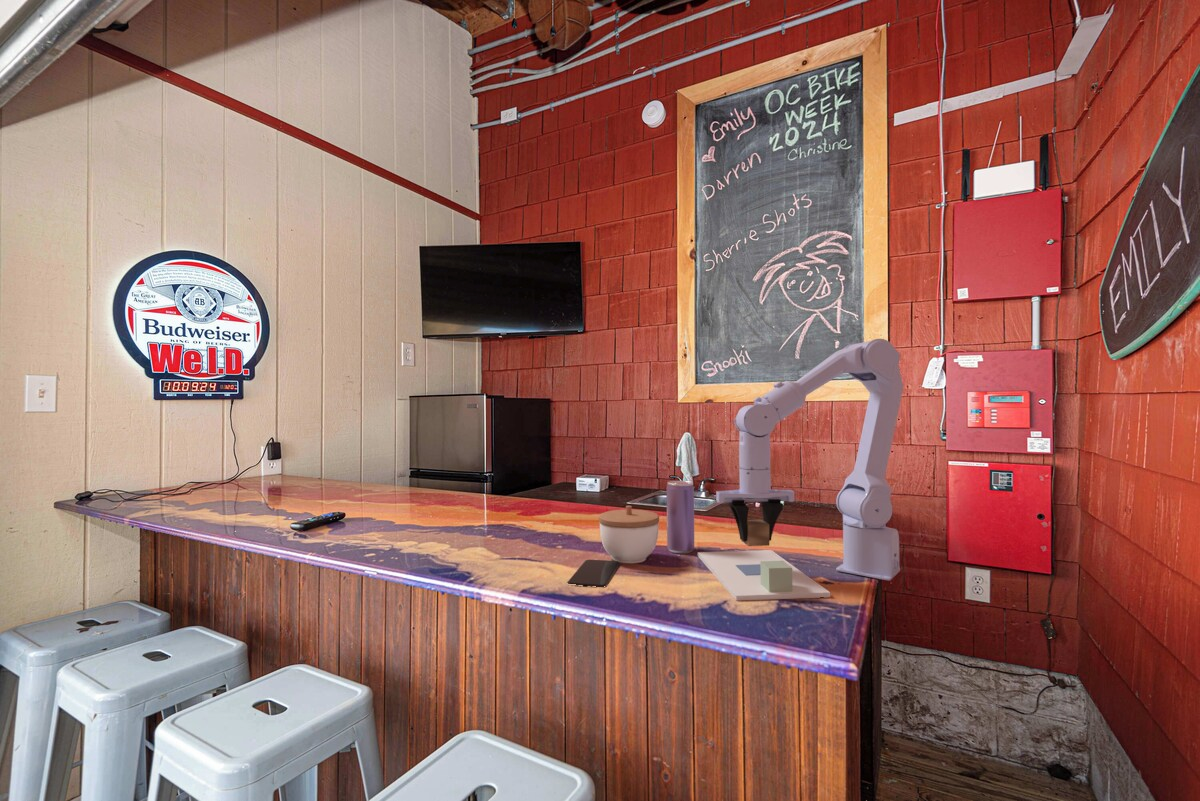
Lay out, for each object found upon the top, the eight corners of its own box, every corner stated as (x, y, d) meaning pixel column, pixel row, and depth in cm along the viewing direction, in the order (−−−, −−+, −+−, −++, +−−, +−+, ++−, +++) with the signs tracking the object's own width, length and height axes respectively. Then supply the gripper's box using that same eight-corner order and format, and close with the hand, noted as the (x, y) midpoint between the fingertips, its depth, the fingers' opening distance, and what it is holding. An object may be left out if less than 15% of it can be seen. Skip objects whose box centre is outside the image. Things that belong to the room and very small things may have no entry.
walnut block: (761, 540, 106) (761, 519, 106) (769, 545, 102) (769, 524, 102) (741, 540, 106) (741, 520, 106) (748, 546, 102) (748, 524, 102)
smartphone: (605, 590, 97) (620, 564, 112) (605, 585, 97) (620, 560, 112) (565, 587, 99) (585, 562, 113) (565, 583, 99) (585, 558, 113)
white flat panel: (771, 553, 117) (771, 549, 117) (830, 597, 91) (830, 591, 91) (697, 555, 116) (697, 551, 116) (736, 600, 90) (736, 595, 90)
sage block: (782, 583, 96) (782, 560, 96) (792, 591, 92) (792, 567, 92) (760, 584, 96) (760, 561, 96) (769, 592, 92) (769, 568, 92)
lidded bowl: (657, 569, 108) (657, 512, 108) (594, 566, 110) (594, 511, 110) (661, 551, 120) (660, 501, 120) (604, 549, 122) (603, 500, 122)
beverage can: (694, 554, 117) (693, 484, 117) (666, 553, 118) (665, 484, 118) (694, 547, 123) (694, 480, 123) (668, 546, 124) (667, 480, 124)
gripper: (783, 465, 108) (784, 533, 108) (711, 466, 107) (712, 535, 107) (799, 469, 101) (799, 542, 101) (721, 470, 100) (722, 544, 100)
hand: (755, 539), depth 104 cm, fingers closed on walnut block, 4 cm apart
